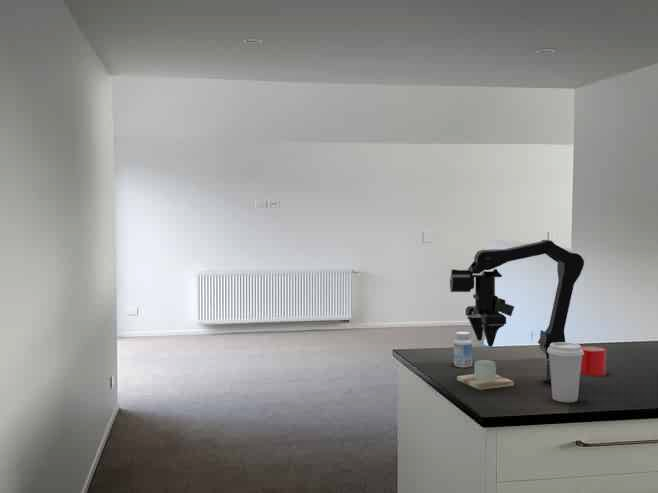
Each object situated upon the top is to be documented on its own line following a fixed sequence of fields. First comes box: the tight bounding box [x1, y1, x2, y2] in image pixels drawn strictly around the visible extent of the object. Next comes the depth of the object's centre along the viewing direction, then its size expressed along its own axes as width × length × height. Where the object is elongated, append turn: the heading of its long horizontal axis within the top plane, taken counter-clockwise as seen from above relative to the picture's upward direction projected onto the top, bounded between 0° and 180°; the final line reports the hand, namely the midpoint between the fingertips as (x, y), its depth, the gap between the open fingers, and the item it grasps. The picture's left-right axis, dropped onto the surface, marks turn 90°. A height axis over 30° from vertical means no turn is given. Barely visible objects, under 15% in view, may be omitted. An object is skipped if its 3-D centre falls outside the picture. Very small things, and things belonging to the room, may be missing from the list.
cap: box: [474, 359, 497, 381], centre depth 196 cm, size 6×6×5 cm
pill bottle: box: [453, 331, 473, 368], centre depth 217 cm, size 6×6×11 cm
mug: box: [580, 345, 607, 377], centre depth 208 cm, size 8×12×8 cm, turn 49°
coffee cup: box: [547, 341, 584, 403], centre depth 178 cm, size 10×10×15 cm
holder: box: [456, 373, 515, 391], centre depth 196 cm, size 12×12×3 cm
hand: (484, 343), depth 195 cm, fingers open, 9 cm apart
